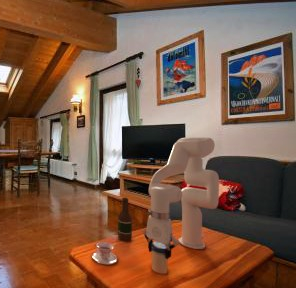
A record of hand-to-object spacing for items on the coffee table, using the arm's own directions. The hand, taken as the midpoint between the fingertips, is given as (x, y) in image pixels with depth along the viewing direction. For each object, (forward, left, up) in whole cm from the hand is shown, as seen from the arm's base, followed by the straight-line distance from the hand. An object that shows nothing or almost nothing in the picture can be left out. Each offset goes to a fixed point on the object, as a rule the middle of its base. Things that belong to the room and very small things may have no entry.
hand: (159, 253), depth 97 cm
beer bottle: (-10, -29, -7) cm, 31 cm away
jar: (0, 0, -7) cm, 7 cm away
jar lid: (0, 0, +3) cm, 3 cm away
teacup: (+15, -19, -7) cm, 25 cm away
